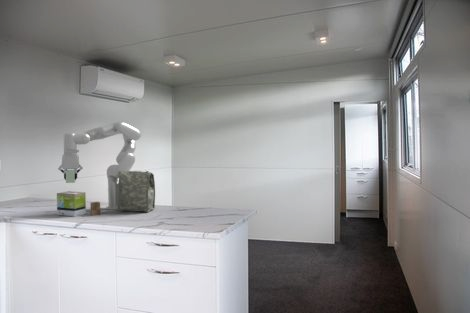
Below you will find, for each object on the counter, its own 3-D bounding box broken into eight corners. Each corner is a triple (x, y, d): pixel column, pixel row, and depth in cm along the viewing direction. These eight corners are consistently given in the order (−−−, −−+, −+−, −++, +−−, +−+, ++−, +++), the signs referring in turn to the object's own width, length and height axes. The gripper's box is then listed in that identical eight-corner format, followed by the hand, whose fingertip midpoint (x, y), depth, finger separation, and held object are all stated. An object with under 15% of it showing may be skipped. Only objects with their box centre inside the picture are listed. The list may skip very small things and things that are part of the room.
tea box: (56, 215, 221) (56, 192, 220) (68, 212, 230) (68, 191, 230) (74, 216, 216) (74, 193, 216) (86, 213, 225) (86, 191, 225)
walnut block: (98, 213, 226) (98, 201, 225) (100, 214, 221) (100, 202, 221) (90, 214, 223) (90, 202, 223) (92, 215, 219) (92, 203, 219)
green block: (75, 181, 226) (75, 169, 225) (74, 182, 221) (74, 170, 221) (67, 182, 224) (66, 170, 224) (65, 182, 219) (65, 170, 219)
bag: (156, 207, 242) (157, 169, 239) (147, 213, 226) (148, 172, 223) (126, 205, 244) (126, 167, 242) (115, 210, 228) (116, 170, 226)
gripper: (85, 151, 228) (85, 178, 229) (56, 152, 223) (57, 179, 223) (83, 151, 221) (84, 179, 222) (54, 152, 216) (55, 180, 216)
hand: (70, 179), depth 222 cm, fingers closed on green block, 5 cm apart
